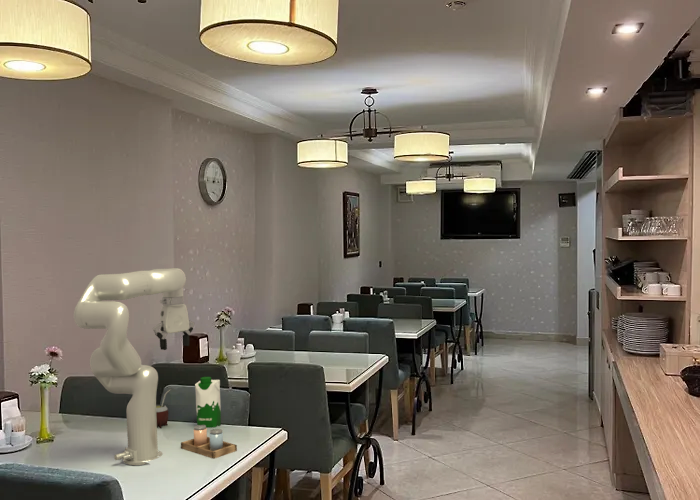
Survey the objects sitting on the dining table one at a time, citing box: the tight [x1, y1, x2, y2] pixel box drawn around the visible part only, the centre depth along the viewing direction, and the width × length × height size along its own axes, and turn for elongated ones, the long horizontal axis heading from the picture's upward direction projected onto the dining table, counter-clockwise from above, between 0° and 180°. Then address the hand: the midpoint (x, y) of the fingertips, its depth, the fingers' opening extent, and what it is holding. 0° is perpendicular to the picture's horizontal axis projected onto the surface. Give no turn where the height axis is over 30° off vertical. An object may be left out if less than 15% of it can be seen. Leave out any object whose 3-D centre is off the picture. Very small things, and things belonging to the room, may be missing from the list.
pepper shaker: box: [193, 424, 208, 446], centre depth 228 cm, size 4×4×7 cm
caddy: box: [180, 436, 238, 459], centre depth 225 cm, size 10×18×3 cm, turn 49°
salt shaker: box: [209, 428, 224, 451], centre depth 222 cm, size 4×4×7 cm
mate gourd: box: [156, 388, 172, 430], centre depth 260 cm, size 8×8×15 cm
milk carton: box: [194, 376, 222, 429], centre depth 255 cm, size 9×9×20 cm
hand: (175, 347), depth 244 cm, fingers open, 9 cm apart
